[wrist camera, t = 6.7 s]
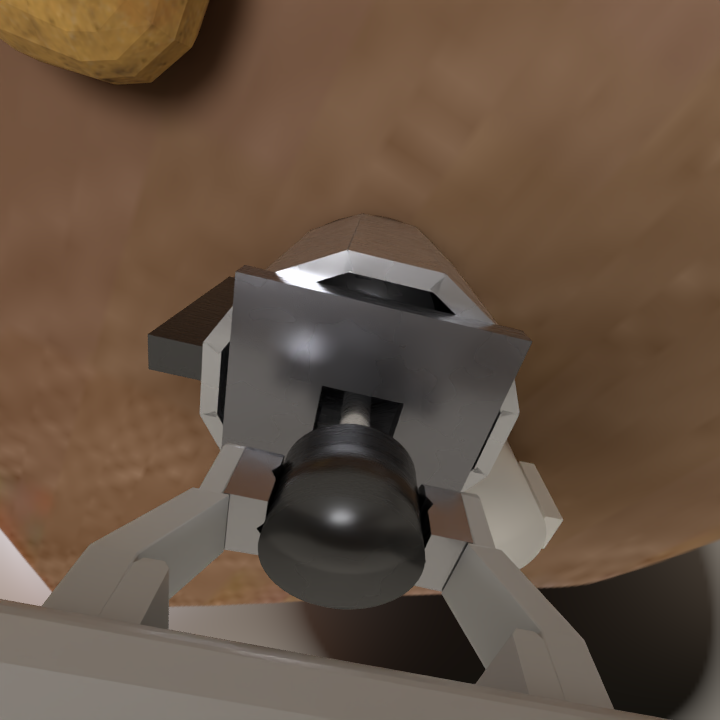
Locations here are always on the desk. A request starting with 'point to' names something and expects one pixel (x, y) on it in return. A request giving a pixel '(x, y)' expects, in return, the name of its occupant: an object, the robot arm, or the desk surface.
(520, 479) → the white ceramic cylinder
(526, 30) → the desk surface
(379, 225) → the carafe
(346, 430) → the plunger
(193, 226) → the desk surface
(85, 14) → the potato
